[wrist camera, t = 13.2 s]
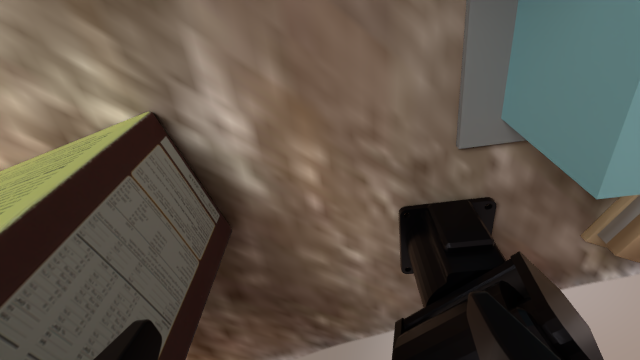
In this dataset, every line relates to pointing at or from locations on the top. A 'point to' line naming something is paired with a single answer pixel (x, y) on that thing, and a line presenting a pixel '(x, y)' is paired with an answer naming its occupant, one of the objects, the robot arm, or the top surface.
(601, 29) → the teal block
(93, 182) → the protein box
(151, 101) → the top surface
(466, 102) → the charcoal mat
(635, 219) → the offcut stack
